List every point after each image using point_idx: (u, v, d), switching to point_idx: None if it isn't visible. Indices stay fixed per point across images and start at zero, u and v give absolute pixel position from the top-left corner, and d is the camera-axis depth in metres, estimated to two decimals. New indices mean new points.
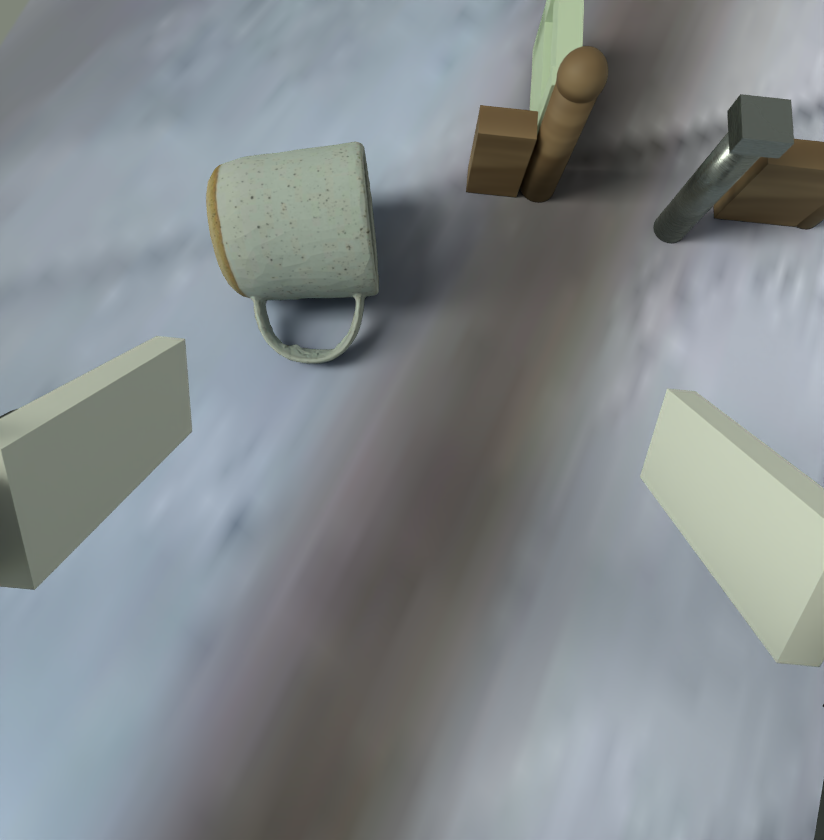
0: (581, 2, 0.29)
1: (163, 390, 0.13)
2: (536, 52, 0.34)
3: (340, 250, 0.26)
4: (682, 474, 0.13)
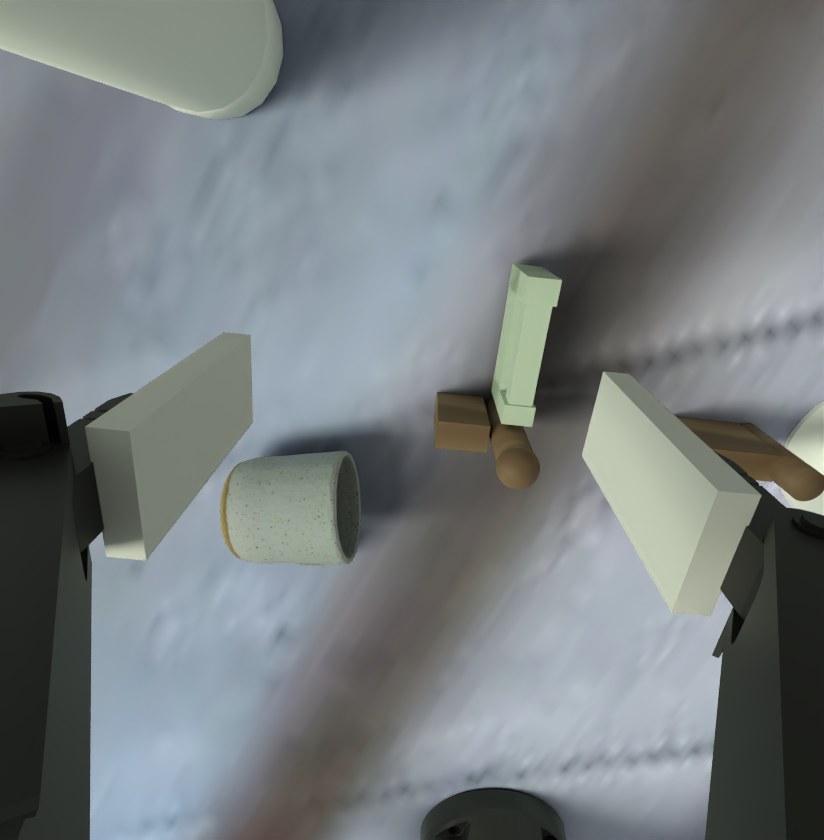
0: (545, 328, 0.28)
1: (234, 382, 0.14)
2: (511, 291, 0.32)
3: None
4: (612, 449, 0.14)
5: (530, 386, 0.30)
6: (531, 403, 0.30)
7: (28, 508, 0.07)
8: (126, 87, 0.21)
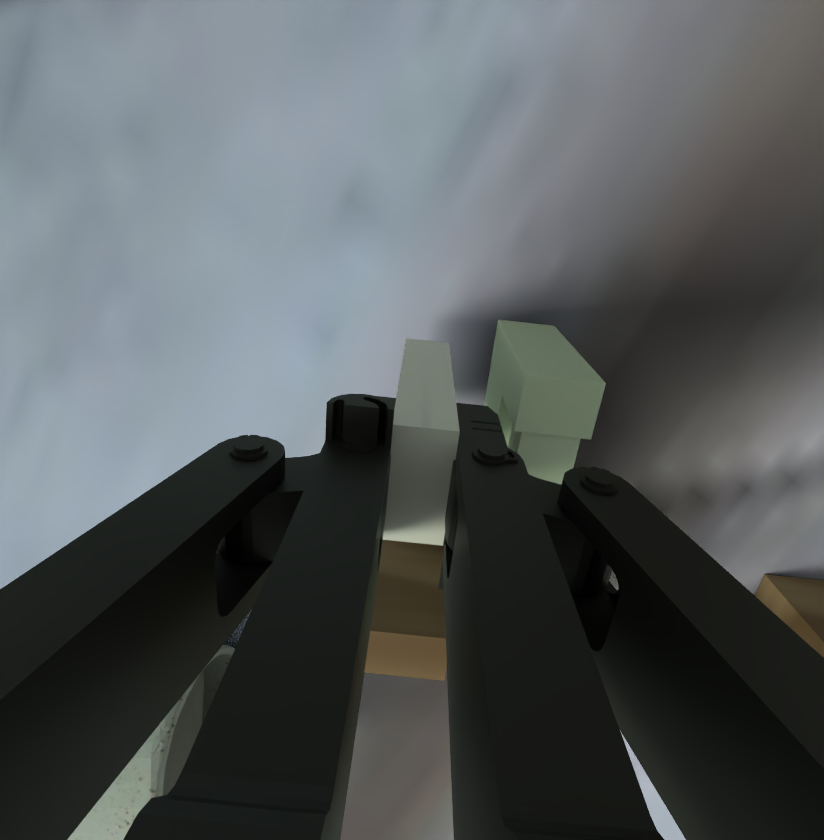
0: None
1: None
2: (494, 376, 0.16)
3: None
4: None
5: None
6: None
7: (355, 499, 0.08)
8: None
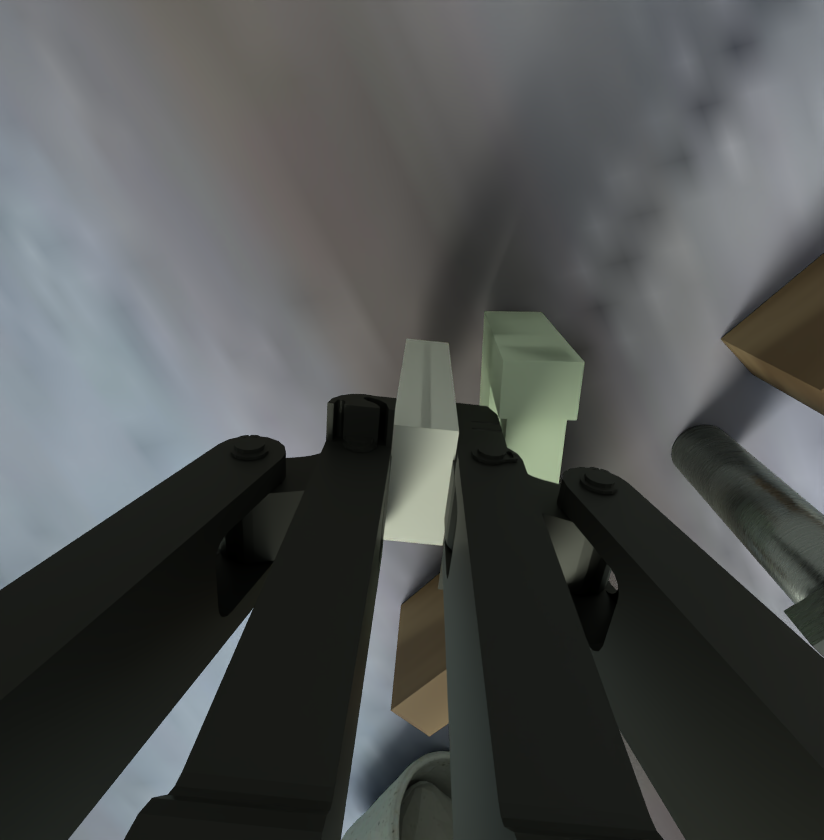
0: (555, 464, 0.13)
1: None
2: (484, 367, 0.16)
3: None
4: None
5: None
6: None
7: (355, 499, 0.08)
8: None
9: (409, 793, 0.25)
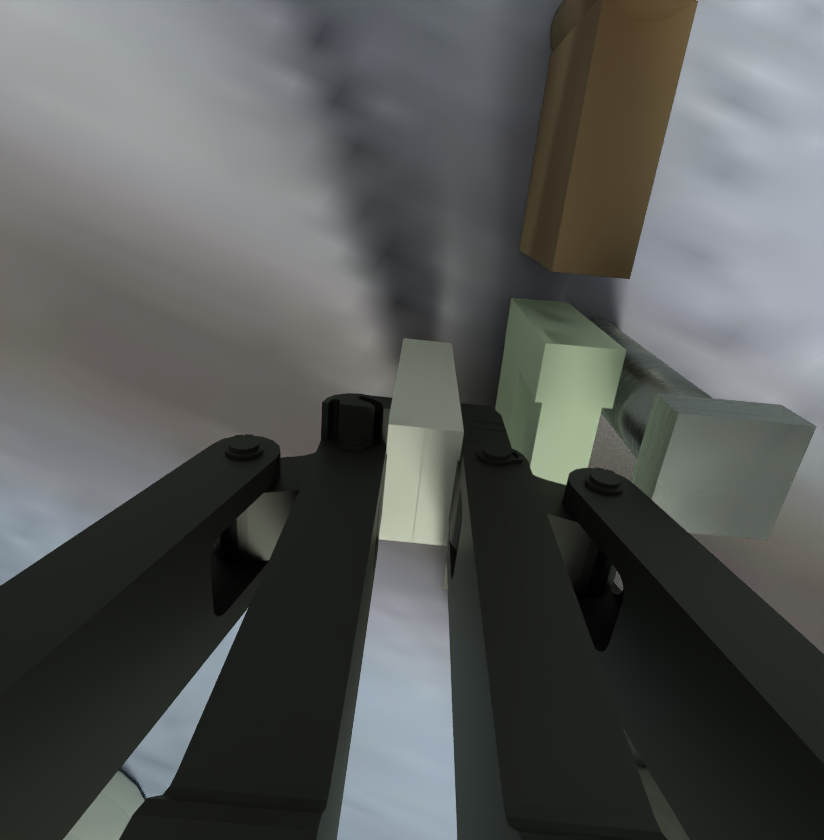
0: (585, 452, 0.13)
1: None
2: (509, 354, 0.16)
3: None
4: None
5: None
6: None
7: (350, 498, 0.08)
8: None
9: None
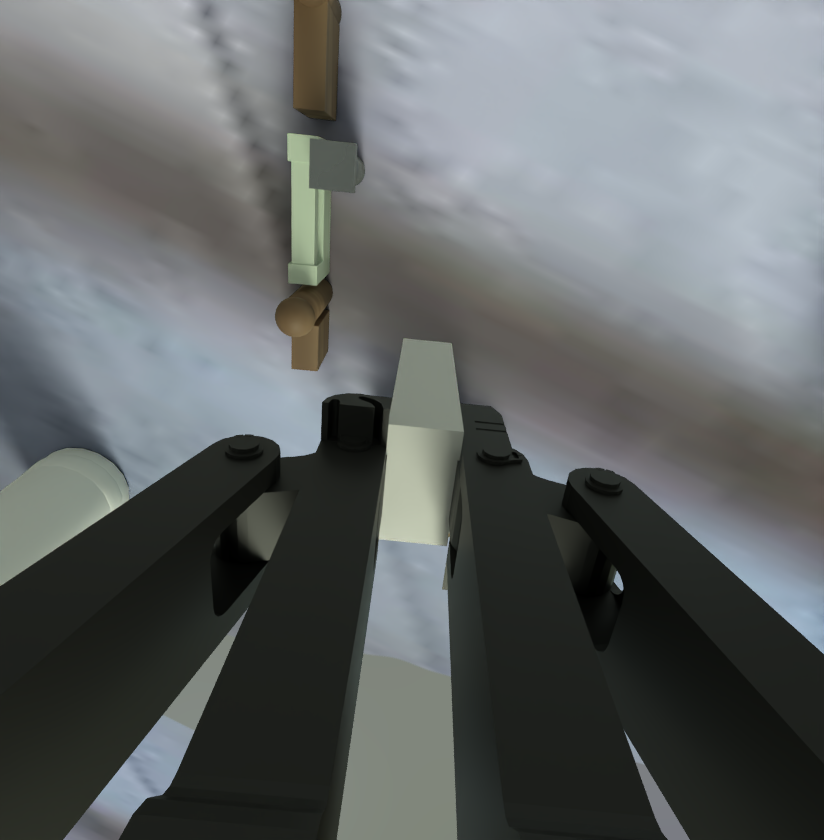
0: None
1: None
2: None
3: None
4: None
5: (308, 244, 0.33)
6: (312, 262, 0.33)
7: (350, 498, 0.08)
8: None
9: None
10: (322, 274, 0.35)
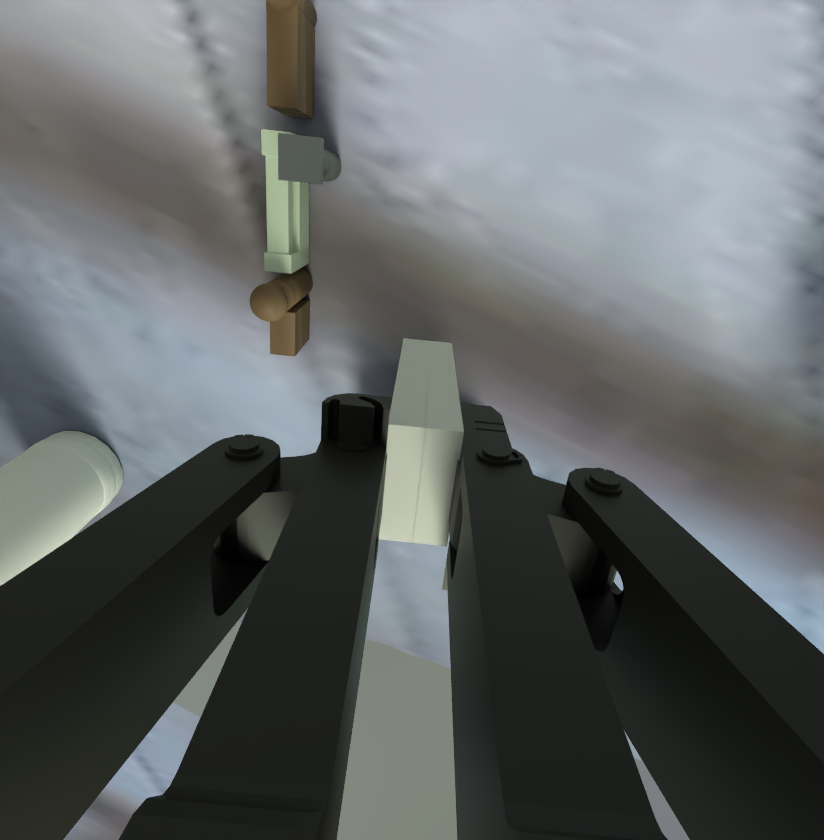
0: None
1: None
2: None
3: None
4: None
5: (283, 234, 0.34)
6: (287, 251, 0.35)
7: (350, 499, 0.08)
8: (50, 536, 0.40)
9: None
10: (299, 264, 0.37)
